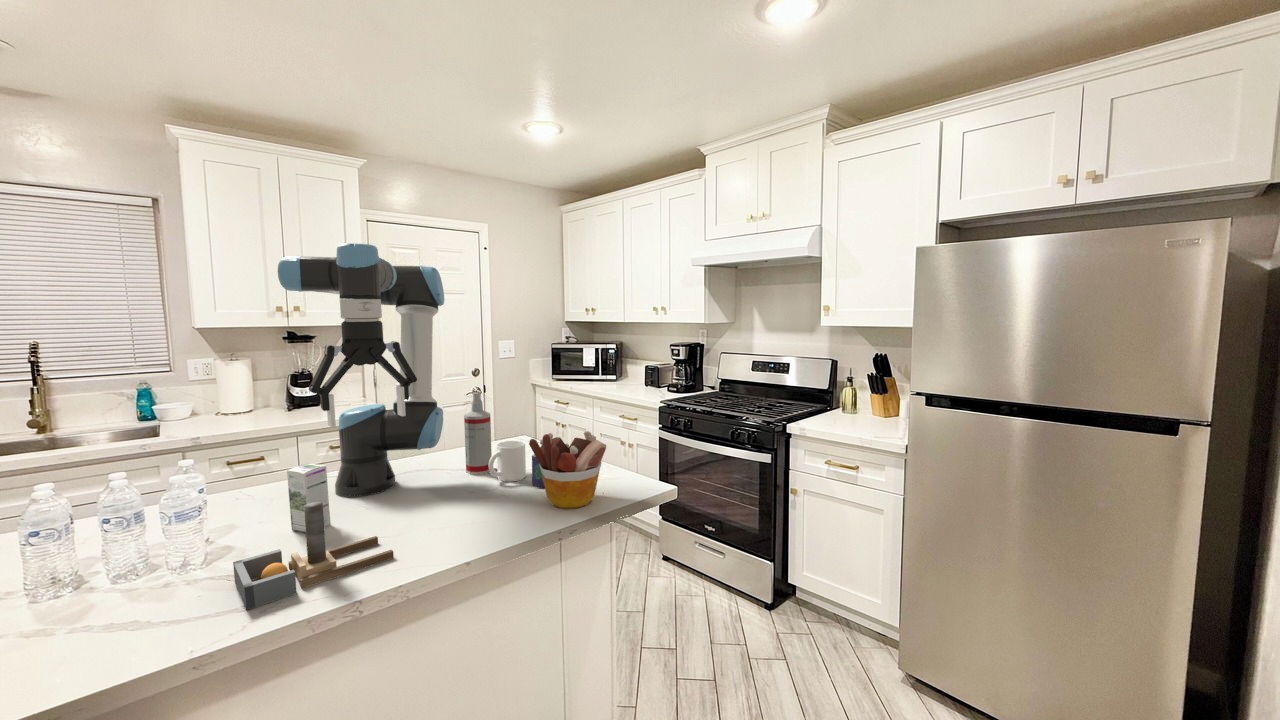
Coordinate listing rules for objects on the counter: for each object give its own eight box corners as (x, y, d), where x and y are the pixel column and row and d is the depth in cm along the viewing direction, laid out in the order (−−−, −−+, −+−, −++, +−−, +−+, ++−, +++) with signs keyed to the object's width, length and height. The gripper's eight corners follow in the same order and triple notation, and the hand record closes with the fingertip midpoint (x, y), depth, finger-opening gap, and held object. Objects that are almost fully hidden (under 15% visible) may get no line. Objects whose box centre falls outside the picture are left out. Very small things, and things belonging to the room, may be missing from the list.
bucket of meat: (572, 485, 147) (571, 417, 145) (617, 497, 138) (617, 424, 136) (519, 507, 131) (517, 430, 129) (566, 522, 121) (564, 440, 119)
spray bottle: (461, 474, 157) (458, 394, 154) (473, 466, 164) (470, 390, 162) (485, 475, 156) (482, 394, 153) (496, 468, 163) (493, 390, 161)
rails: (289, 569, 99) (288, 561, 99) (376, 542, 111) (376, 535, 111) (301, 588, 92) (301, 580, 92) (393, 558, 104) (393, 551, 104)
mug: (497, 487, 145) (496, 452, 144) (481, 481, 151) (480, 447, 150) (531, 477, 154) (530, 443, 153) (515, 471, 160) (514, 439, 159)
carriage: (292, 569, 99) (287, 504, 97) (327, 559, 103) (323, 496, 101) (300, 583, 94) (296, 515, 92) (337, 571, 98) (333, 506, 97)
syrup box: (331, 524, 120) (328, 464, 119) (308, 534, 115) (304, 472, 113) (314, 521, 122) (310, 462, 121) (290, 531, 117) (285, 469, 115)
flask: (560, 488, 144) (560, 451, 143) (554, 491, 142) (553, 454, 141) (535, 483, 149) (534, 447, 148) (529, 486, 146) (528, 449, 145)
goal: (234, 582, 94) (233, 562, 94) (281, 568, 100) (280, 549, 99) (246, 610, 86) (244, 587, 85) (296, 593, 91) (295, 571, 90)
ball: (265, 558, 94) (289, 560, 97) (255, 580, 93) (279, 582, 96) (269, 566, 91) (294, 568, 94) (259, 588, 90) (284, 590, 93)
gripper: (294, 322, 94) (303, 434, 97) (429, 319, 111) (434, 414, 114) (286, 321, 100) (294, 427, 102) (416, 317, 117) (421, 408, 119)
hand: (368, 420), depth 108 cm, fingers open, 13 cm apart
